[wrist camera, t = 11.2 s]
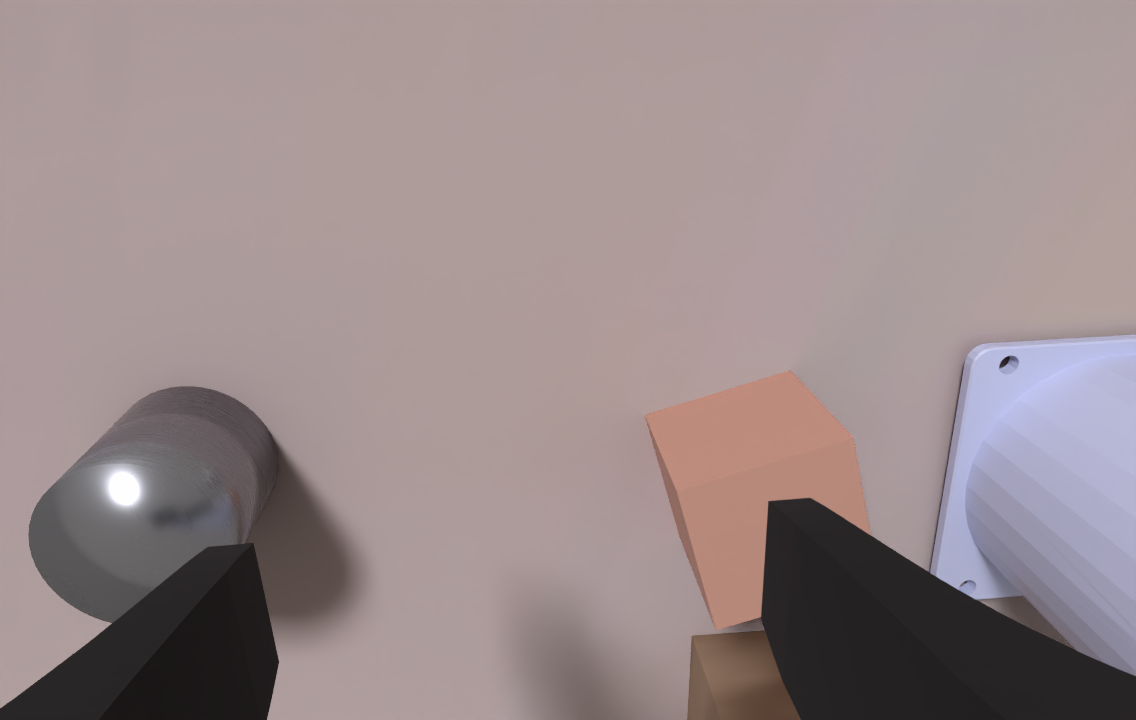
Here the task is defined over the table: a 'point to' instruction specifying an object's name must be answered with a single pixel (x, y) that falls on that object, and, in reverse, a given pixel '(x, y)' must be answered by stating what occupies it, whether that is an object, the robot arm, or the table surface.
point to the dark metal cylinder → (152, 498)
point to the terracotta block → (749, 480)
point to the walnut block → (736, 679)
